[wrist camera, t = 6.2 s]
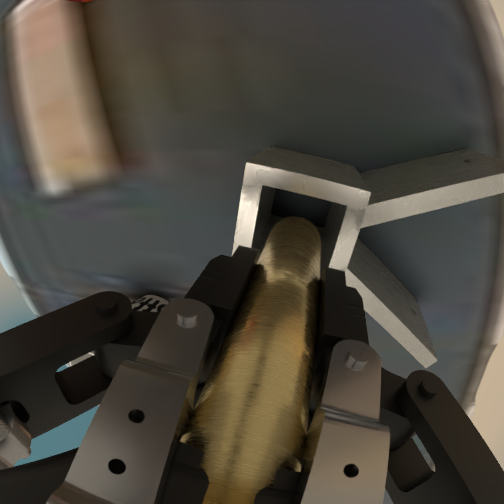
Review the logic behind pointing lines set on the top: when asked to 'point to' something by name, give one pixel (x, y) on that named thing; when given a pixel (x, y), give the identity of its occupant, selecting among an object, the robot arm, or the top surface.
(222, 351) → the pin
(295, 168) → the grey finned stand
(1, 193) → the top surface
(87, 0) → the paper cup
